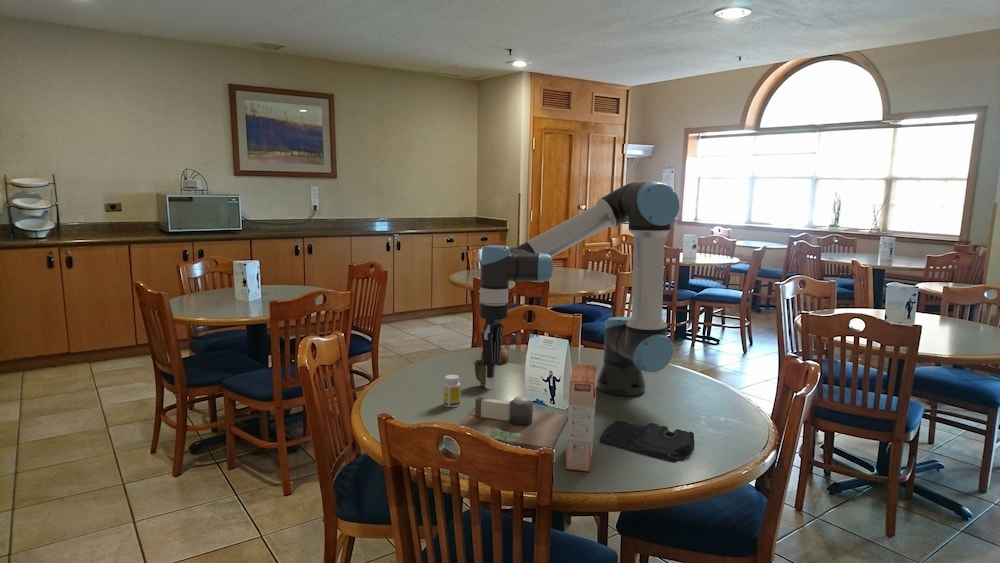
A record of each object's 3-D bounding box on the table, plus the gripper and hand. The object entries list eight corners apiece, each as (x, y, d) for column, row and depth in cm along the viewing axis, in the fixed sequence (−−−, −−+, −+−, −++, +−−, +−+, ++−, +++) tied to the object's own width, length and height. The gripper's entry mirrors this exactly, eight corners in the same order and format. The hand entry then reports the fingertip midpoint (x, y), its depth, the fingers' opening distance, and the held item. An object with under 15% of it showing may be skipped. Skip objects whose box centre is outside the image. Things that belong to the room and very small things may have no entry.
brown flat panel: (568, 419, 164) (568, 414, 164) (550, 454, 142) (550, 449, 142) (478, 408, 172) (478, 403, 172) (447, 439, 150) (447, 434, 149)
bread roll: (479, 372, 218) (478, 355, 214) (484, 353, 227) (483, 337, 222) (506, 374, 217) (505, 357, 212) (510, 355, 225) (509, 338, 221)
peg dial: (534, 418, 161) (535, 396, 160) (529, 426, 155) (529, 404, 154) (480, 411, 165) (480, 390, 164) (472, 418, 159) (473, 397, 159)
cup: (496, 390, 187) (497, 365, 186) (473, 390, 187) (473, 365, 186) (497, 383, 195) (498, 359, 193) (474, 382, 195) (475, 358, 193)
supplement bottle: (462, 403, 175) (463, 375, 174) (456, 408, 171) (456, 380, 170) (447, 401, 177) (447, 373, 176) (440, 406, 173) (441, 378, 171)
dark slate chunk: (616, 425, 163) (617, 408, 162) (699, 444, 151) (701, 426, 151) (594, 444, 150) (595, 426, 149) (683, 467, 138) (685, 447, 138)
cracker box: (592, 473, 133) (596, 382, 130) (564, 470, 134) (568, 380, 131) (593, 447, 147) (597, 364, 144) (568, 445, 148) (572, 362, 145)
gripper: (488, 298, 168) (485, 379, 172) (472, 305, 156) (469, 393, 160) (513, 300, 166) (510, 382, 170) (500, 308, 154) (496, 397, 157)
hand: (490, 387), depth 165 cm, fingers closed
